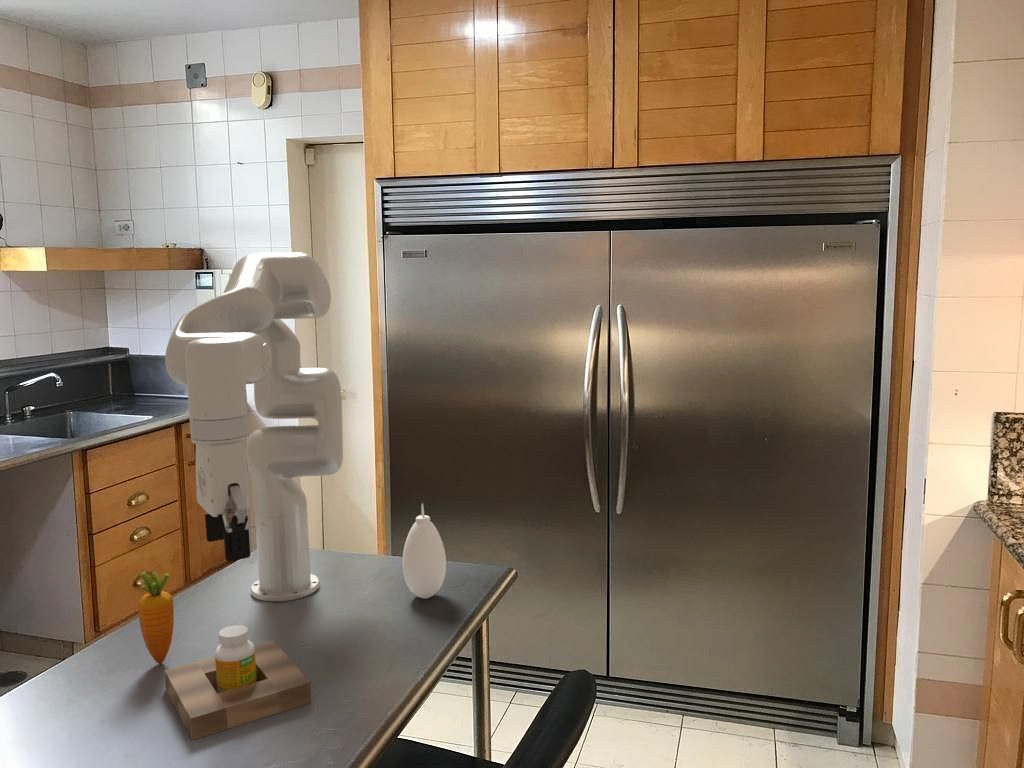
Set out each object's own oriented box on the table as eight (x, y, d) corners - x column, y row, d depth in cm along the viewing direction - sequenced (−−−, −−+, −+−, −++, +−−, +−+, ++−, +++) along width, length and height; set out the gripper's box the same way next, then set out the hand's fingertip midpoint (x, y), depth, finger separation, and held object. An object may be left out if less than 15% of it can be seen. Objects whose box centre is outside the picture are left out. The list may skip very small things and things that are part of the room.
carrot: (184, 658, 128) (177, 567, 126) (161, 673, 124) (154, 578, 122) (159, 654, 130) (152, 564, 128) (135, 668, 125) (127, 575, 123)
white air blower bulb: (454, 593, 153) (452, 500, 150) (428, 608, 146) (425, 511, 144) (422, 585, 157) (419, 494, 154) (395, 599, 150) (391, 504, 148)
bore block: (165, 689, 119) (164, 670, 118) (274, 659, 128) (273, 640, 127) (192, 740, 106) (190, 718, 105) (311, 702, 115) (310, 682, 114)
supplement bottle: (245, 706, 114) (240, 640, 112) (210, 703, 115) (205, 637, 113) (264, 687, 119) (260, 624, 118) (230, 684, 120) (226, 621, 119)
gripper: (176, 422, 116) (185, 537, 119) (207, 443, 102) (216, 573, 105) (230, 416, 121) (237, 528, 123) (267, 435, 106) (274, 561, 109)
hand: (228, 548), depth 114 cm, fingers open, 9 cm apart
